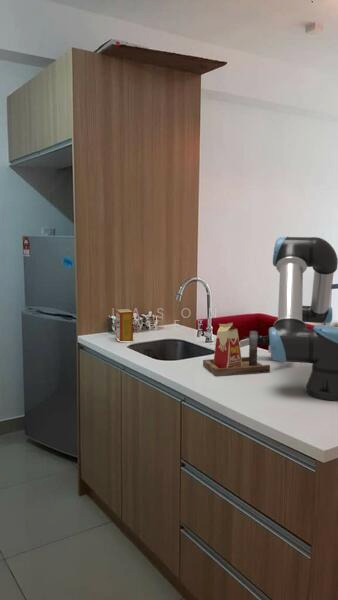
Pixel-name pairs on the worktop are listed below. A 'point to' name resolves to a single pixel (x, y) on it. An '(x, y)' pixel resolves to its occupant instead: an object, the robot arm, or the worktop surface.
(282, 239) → the robot arm
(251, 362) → the wooden tray
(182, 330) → the worktop surface
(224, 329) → the milk carton
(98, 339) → the worktop surface
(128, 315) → the baking soda box
